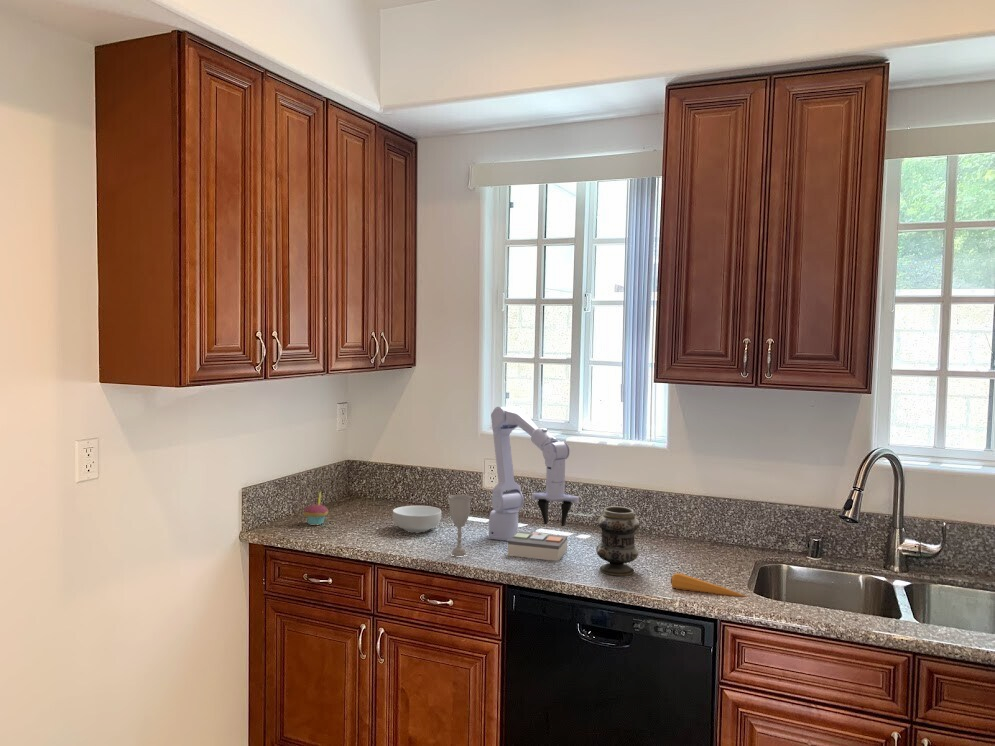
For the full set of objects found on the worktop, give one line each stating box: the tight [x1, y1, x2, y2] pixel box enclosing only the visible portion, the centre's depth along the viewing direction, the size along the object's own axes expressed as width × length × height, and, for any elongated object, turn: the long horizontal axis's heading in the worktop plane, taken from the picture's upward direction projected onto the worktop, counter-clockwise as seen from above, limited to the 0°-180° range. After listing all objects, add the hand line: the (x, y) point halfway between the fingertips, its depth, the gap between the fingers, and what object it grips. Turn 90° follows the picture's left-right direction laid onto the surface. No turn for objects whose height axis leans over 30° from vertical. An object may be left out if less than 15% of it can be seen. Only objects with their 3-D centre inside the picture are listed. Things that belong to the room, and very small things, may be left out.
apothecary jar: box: [595, 505, 640, 577], centre depth 212 cm, size 12×12×18 cm
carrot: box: [670, 572, 748, 598], centre depth 196 cm, size 20×4×4 cm, turn 70°
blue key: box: [530, 535, 546, 541], centre depth 229 cm, size 4×4×2 cm
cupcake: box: [303, 489, 329, 525], centre depth 259 cm, size 9×8×12 cm
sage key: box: [514, 533, 530, 539], centre depth 231 cm, size 4×4×2 cm
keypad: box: [507, 530, 568, 562], centre depth 229 cm, size 16×12×5 cm
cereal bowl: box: [392, 505, 442, 533], centre depth 254 cm, size 17×17×7 cm
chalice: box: [448, 494, 472, 556], centre depth 225 cm, size 7×7×18 cm
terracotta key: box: [546, 536, 562, 543], centre depth 227 cm, size 4×4×2 cm
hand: (554, 524), depth 227 cm, fingers open, 5 cm apart
